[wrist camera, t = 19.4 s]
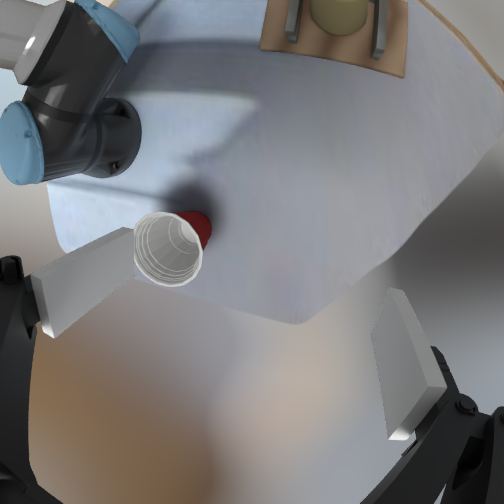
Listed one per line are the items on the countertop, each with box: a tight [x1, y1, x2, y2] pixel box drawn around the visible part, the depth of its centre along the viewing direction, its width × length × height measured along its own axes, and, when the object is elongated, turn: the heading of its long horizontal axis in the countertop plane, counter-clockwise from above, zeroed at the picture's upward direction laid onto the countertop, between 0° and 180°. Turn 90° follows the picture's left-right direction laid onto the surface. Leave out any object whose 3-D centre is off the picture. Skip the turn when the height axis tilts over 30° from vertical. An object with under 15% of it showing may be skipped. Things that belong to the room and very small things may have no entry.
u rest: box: [259, 0, 408, 79], centre depth 29 cm, size 22×15×6 cm
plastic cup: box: [134, 211, 212, 287], centre depth 43 cm, size 11×11×12 cm
